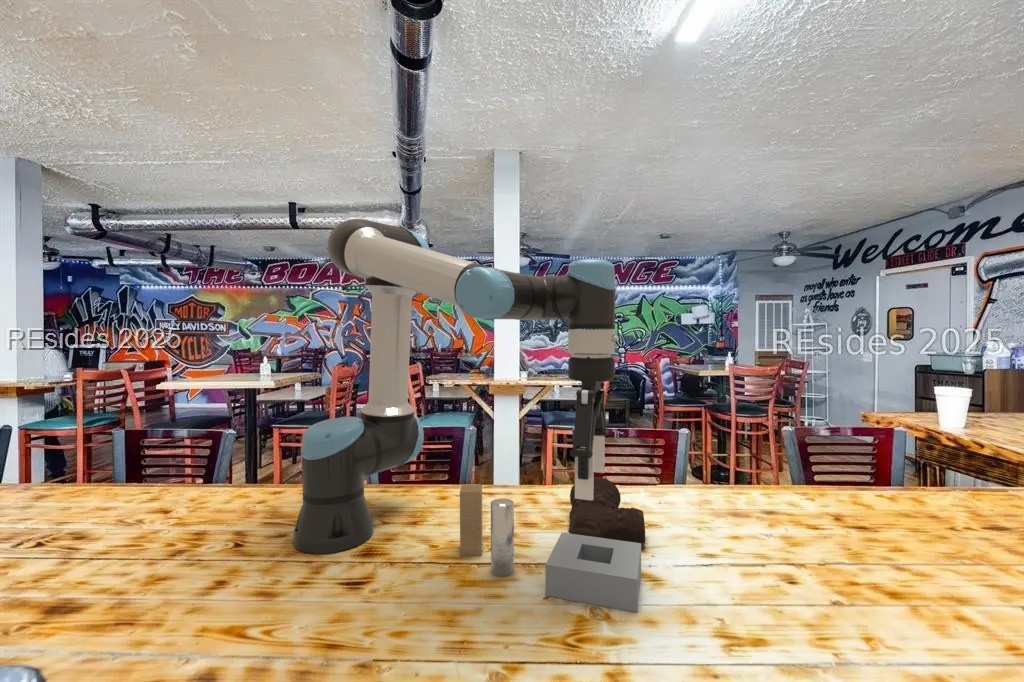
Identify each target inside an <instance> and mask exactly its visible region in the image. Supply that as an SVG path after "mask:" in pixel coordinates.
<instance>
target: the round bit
mask: <svg viewBox="0 0 1024 682" xmlns="http://www.w3.org/2000/svg"><path fill="white" fill-rule="evenodd" d="M514 508H515V507H514V500H512V499H509V498H496V499H492V500H491V501H490V571H491V574H492V575H493V576H495V577H498V578H504V577H505V578H506V577H509V576H511V575H513V574H514V573H515V539H514V538H515V535H514V534H515V531H514V530H515V529H514V528H515V522H514V521H515V520H514V519H515V515H514V512H515V509H514Z"/></svg>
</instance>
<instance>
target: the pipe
mask: <svg viewBox="0 0 1024 682" xmlns="http://www.w3.org/2000/svg"><path fill="white" fill-rule="evenodd" d="M569 498H570V499H569V501H570V504H571V509H570V511H569V515H568V517H569V523H568V525H569V526H568V533H570V534H577V535H584V536H591V537H599V538H606V539H613V540H620V541H628V542H635V543H641V546H642V545H645V543H646V523H645V518H644V517H645V514H644V512H643V510H641V509H639V508H636V507H630V508H629V507H620V505H621V502H622V501H621V498H622V497H621V493H620V491H619V488H618V486H617V485H615V484H614V483H613V482H612V481H610V480H608V479H606V478H604V477H599V476H598V477H597V476H594V486H593V501H592V500H583V499H575V483H574V484H572V487H571V489H570V493H569Z"/></svg>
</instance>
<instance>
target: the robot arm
mask: <svg viewBox="0 0 1024 682" xmlns="http://www.w3.org/2000/svg"><path fill="white" fill-rule="evenodd" d="M326 246H327V253H328V257H329V258H330V261H331V263H333V265H334V266H335V267H336V268H337V269H338V270H340V271H341V272H343V273H344V274H347V275H350V276H355V277H357V278H358V277H359V278H361V279H365V281H364V283H365V284H364V285H365V288H366V289H367V290H368V291H369V292H370V294H371V296H372V297H371V317H370V318H371V319H370V320H371V321H370V322H371V323H370V325H371V326H370V347H369V348H370V352H369V353H370V354H369V377H368V380H369V382H368V402H367V403H366V404H365V405H364V406H362V408H361V410H360V417H357V416H340V417H333V418H328V419H325V420H322V421H318V422H316V423H314V424H312V425H310V426H308V428H307V429H305V431H304V432H303V434H302V439H301V447H300V448H301V449H300V455H301V456H300V457H301V466H302V467H301V472H302V473H301V478H302V479H301V481H302V482H301V483H302V505H301V508H300V510H299V515H298V517H297V522H296V525H295V527H294V529H293V546H294V547H295V548H296V549H297V550H299V551H301V552H303V553H308V554H333V553H337V552H343V551H346V550H350V549H353V548H355V547H357V546H360V545H361V544H364V543H365V542H366V541H368V540H369V539H370V538H371V537H372V535H374V518H373V516H372V515H371V512H370V509H369V505H368V503H367V500H366V496H365V478H366V477H369V476H371V475H376V474H378V473H382V472H384V471H387V470H390V469H394V468H399V467H402V466H404V465H405V464H407V463H409V462H411V461H413V460H414V459H415V458H416V457H417V456H418V455H419V454H420V453H421V450H422V448H423V444H424V438H425V434H424V433H425V432H424V427H423V425H422V424H421V420H420V418H419V417H418V416H417V415H416V414H415V408H414V407H413V406H412V405H411V404H410V403H409V401H408V400H409V382H410V381H409V379H410V358H411V357H410V356H411V355H410V352H411V332H412V331H411V328H412V306H413V305H412V304H413V297H414V296H415V294H417V293H419V294H422V295H424V296H427V297H430V298H433V299H436V300H438V301H442V302H444V303H447V304H449V305H453V306H456V307H458V308H459V309H461V310H462V312H463V314H465V315H467V316H468V317H471V318H474V319H480V320H483V321H492V320H519V321H525V322H527V321H528V322H530V321H531V322H532V321H548V320H549V321H550V320H551V321H552V320H564V321H565V320H567V321H568V329H567V330H568V331H567V337H568V338H567V352H568V353H569V354H570V355H571V356H570V357H569V358H568V363H567V364H568V365H567V367H568V369H567V371H568V378H569V380H571V381H574V382H575V381H576V382H577V381H578V382H581V386H580V387H581V388H580V389H577V390H576V392H575V396H576V404H575V405H576V407H575V417H574V418H575V419H574V430H573V439H572V440H573V443H572V450H569V457H573V458H574V484H575V499H583V500H592V501H593V486H594V477H595V476H594V473H597V474H598V473H600V474H605V459H606V458H605V456H606V455H605V453H606V452H605V446H606V445H605V436H609V434H610V433H609V431H610V429H609V428H607V424H606V421H607V420H606V409H605V408H606V406H605V395H606V393H605V389H604V388H605V382H611V381H614V379H615V377H616V375H615V374H616V372H615V371H616V367H615V366H616V359H614V357H612V356H611V355H613V354H614V353H615V351H616V349H615V348H616V347H615V342H618V341H620V338H619V335H617V334H616V335H615V333H616V332H615V329H616V321H615V320H616V318H615V317H616V291H617V287H616V275H615V265H614V264H613V263H612V262H611V261H610V260H609V261H608V260H607V259H606V260H605V259H593V258H592V259H578V260H574V261H571V262H570V263H569V264H568V269H567V270H568V271H567V273H566V274H562V275H551V276H548V275H546V276H538V275H537V276H536V275H532V274H523V273H520V272H513V271H508V270H502V269H499V268H494V267H491V266H489V265H488V266H487V265H485V264H480V263H476V262H474V261H469V260H466V259H463V258H459V257H455V256H452V255H449V254H446V253H442V252H438V251H436V250H433V249H432V250H431V249H430V246H429V244H428V242H427V241H426V240H425V239H424V237H423V236H422V235H421V234H419V232H415V231H414V230H409V229H408V228H406V227H400V226H395V225H390V224H386V223H381V222H376V221H373V220H369V219H365V218H352V219H351V218H350V219H347V220H344V221H342V222H341V223H339V224H337V225H336V226H335V227H333V229H332V231H331V232H330V234H329V237H328V239H327V245H326Z"/></svg>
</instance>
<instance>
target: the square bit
mask: <svg viewBox="0 0 1024 682" xmlns="http://www.w3.org/2000/svg"><path fill="white" fill-rule="evenodd" d="M483 536H484V535H483V484H461V486H460V491H459V553H460V554H459V556H460V557H480V556H481V557H482V556H483V543H484V542H483V539H484V537H483Z"/></svg>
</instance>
